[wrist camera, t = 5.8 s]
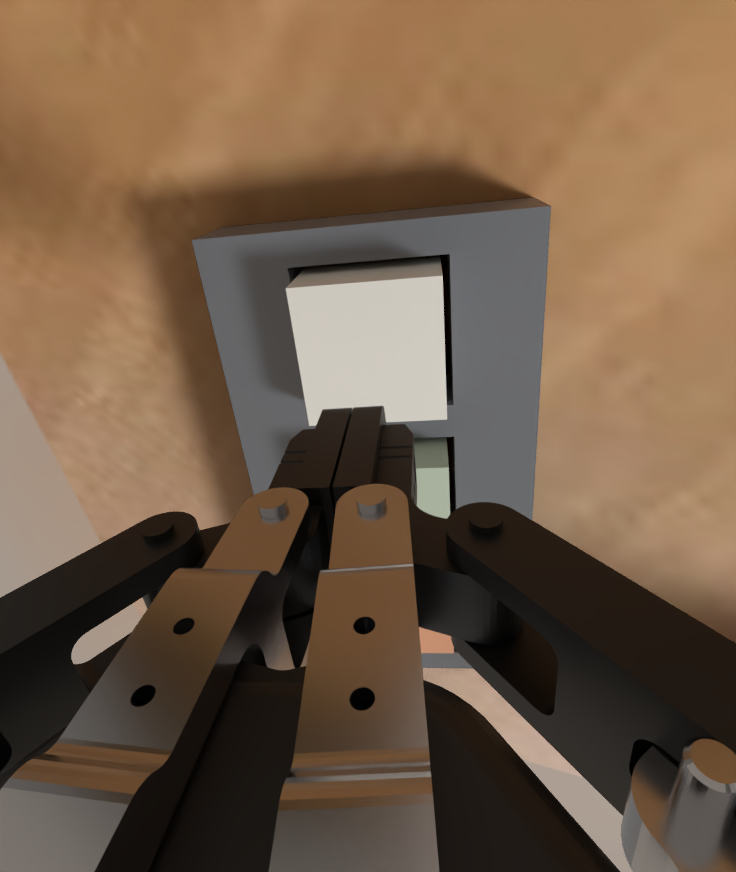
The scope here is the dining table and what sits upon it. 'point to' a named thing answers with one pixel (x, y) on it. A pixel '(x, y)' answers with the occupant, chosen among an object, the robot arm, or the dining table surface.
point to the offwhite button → (372, 337)
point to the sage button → (432, 476)
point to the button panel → (468, 334)
